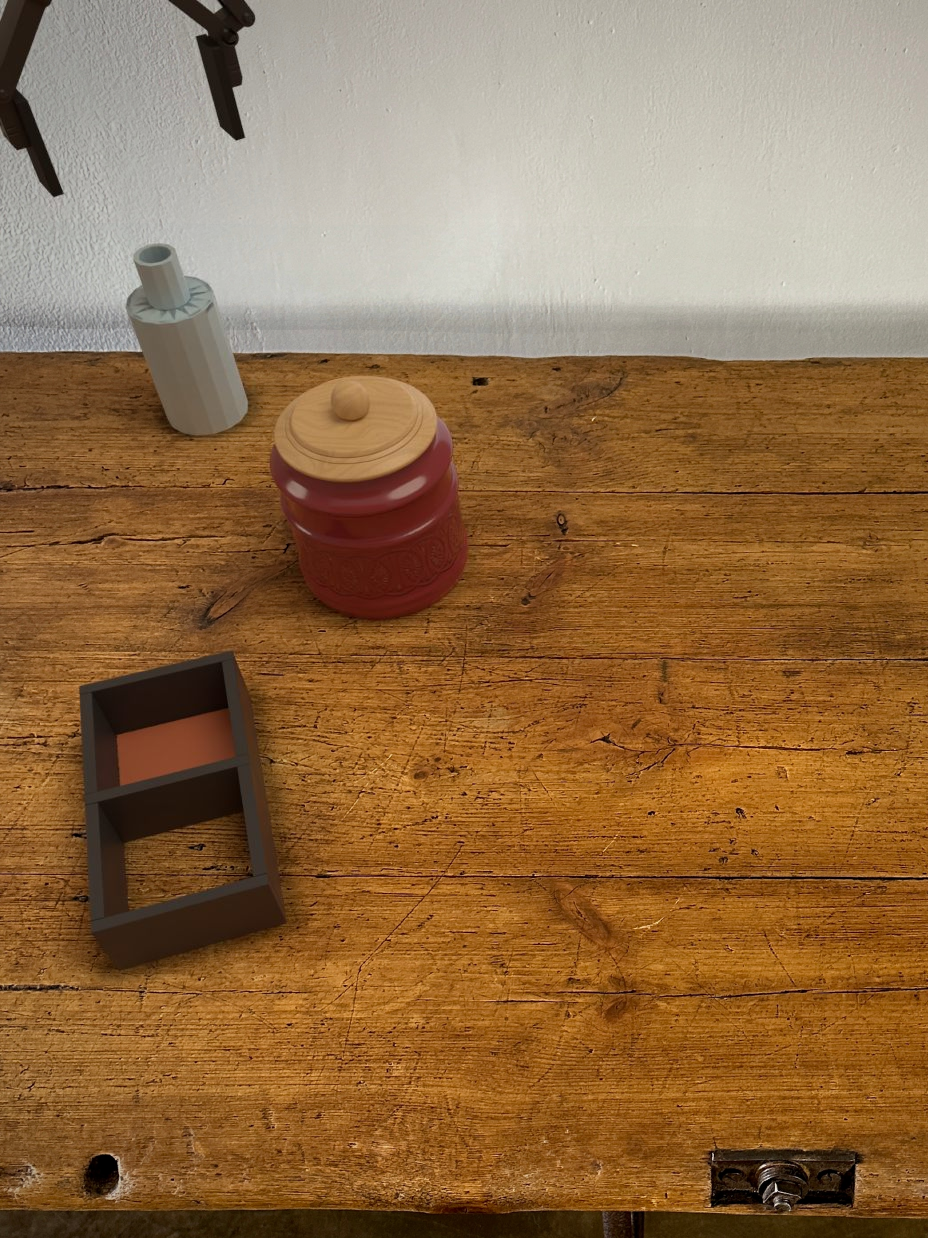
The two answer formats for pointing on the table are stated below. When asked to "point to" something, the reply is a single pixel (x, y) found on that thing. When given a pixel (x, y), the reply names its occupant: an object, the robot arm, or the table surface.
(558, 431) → the table surface
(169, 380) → the water bottle
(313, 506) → the kitchen canister
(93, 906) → the frame
